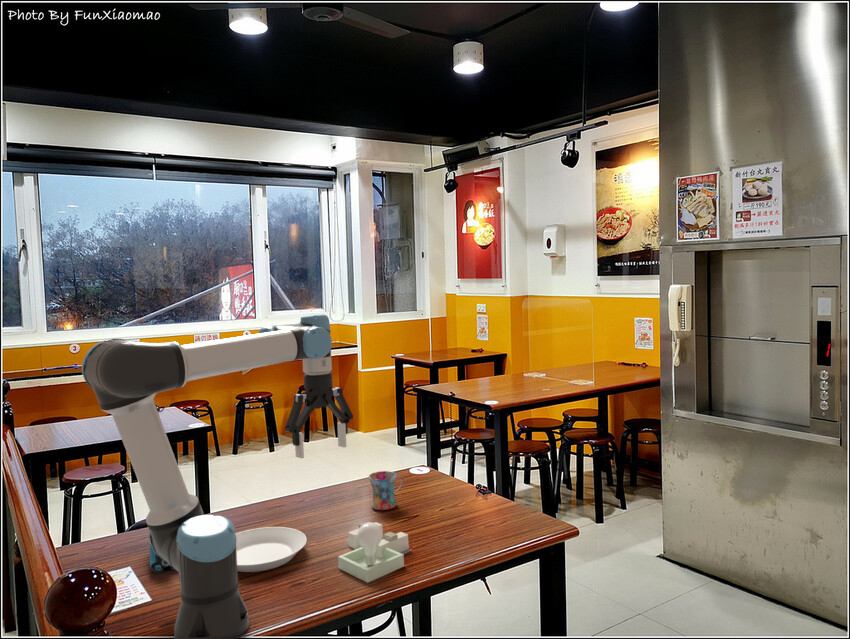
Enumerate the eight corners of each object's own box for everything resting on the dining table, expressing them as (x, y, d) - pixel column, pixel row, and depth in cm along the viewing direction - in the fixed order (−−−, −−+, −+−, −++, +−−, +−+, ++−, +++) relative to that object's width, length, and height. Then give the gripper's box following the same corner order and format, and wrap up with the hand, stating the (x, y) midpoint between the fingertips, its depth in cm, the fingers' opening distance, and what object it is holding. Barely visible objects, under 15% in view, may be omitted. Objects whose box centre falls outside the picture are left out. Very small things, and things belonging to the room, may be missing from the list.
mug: (376, 514, 200) (375, 481, 199) (365, 505, 208) (364, 474, 208) (410, 507, 206) (409, 474, 205) (398, 498, 214) (397, 468, 213)
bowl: (209, 585, 156) (208, 571, 156) (215, 546, 180) (214, 534, 180) (311, 569, 163) (310, 556, 163) (303, 533, 187) (302, 522, 187)
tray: (367, 582, 154) (366, 570, 154) (338, 568, 163) (337, 556, 162) (404, 566, 162) (403, 554, 162) (374, 553, 171) (374, 542, 171)
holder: (384, 565, 165) (383, 543, 165) (345, 547, 177) (344, 526, 177) (412, 553, 172) (411, 531, 171) (373, 536, 184) (372, 516, 184)
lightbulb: (379, 571, 159) (377, 528, 158) (355, 569, 160) (353, 527, 159) (385, 560, 165) (384, 519, 164) (362, 559, 166) (361, 518, 165)
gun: (152, 595, 165) (148, 547, 161) (150, 535, 188) (147, 491, 183) (184, 588, 168) (181, 541, 164) (179, 530, 191) (176, 487, 187)
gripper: (284, 380, 156) (288, 464, 157) (363, 368, 173) (367, 444, 174) (268, 377, 161) (273, 459, 162) (347, 366, 178) (350, 440, 180)
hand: (321, 451), depth 168 cm, fingers open, 13 cm apart
